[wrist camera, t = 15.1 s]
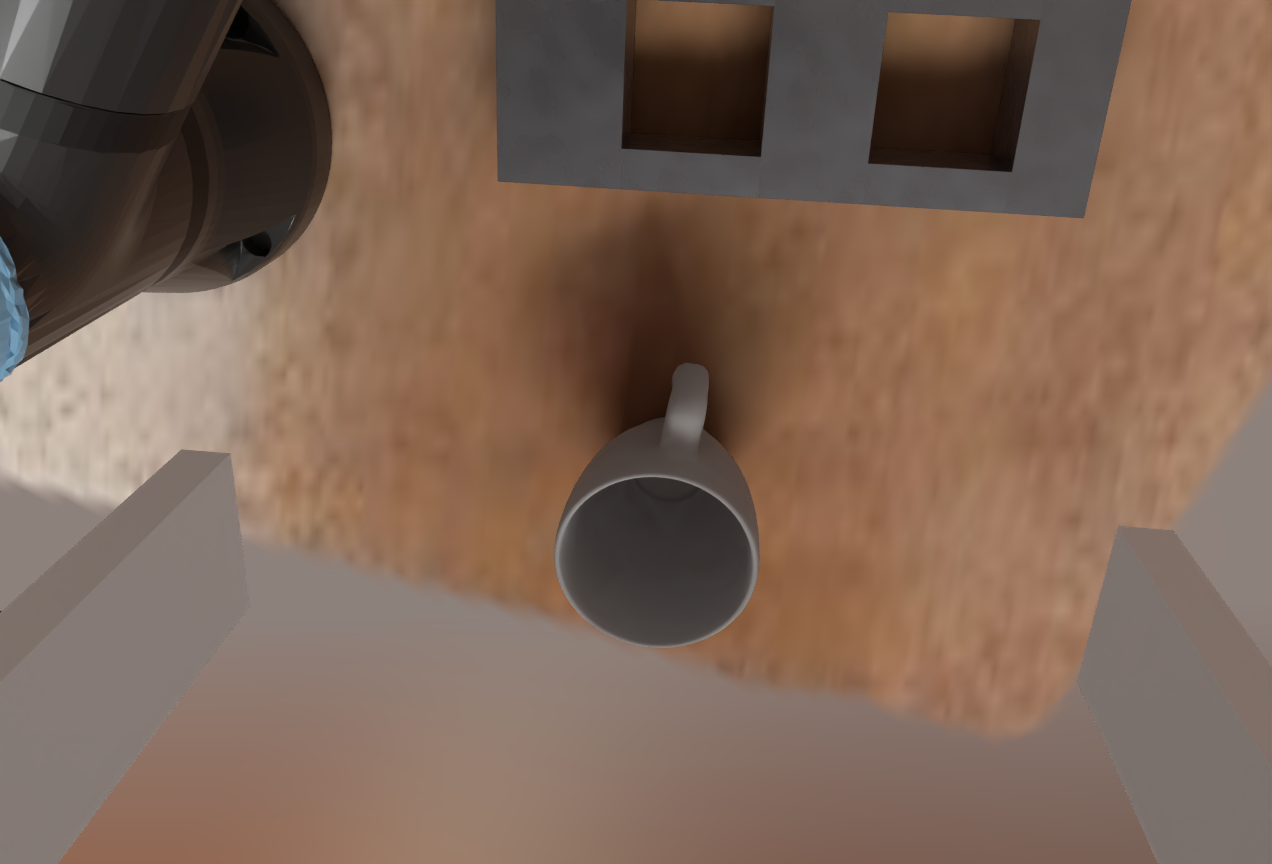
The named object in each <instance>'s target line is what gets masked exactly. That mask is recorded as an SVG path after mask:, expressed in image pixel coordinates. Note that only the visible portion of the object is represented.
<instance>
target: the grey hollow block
mask: <svg viewBox="0 0 1272 864" xmlns="http://www.w3.org/2000/svg"><path fill="white" fill-rule="evenodd" d="M660 1H680V2H699V3H719V4H739V5H759V6H772V10H771V22H770V33H769V44H768V55H767V67H766V78H765V89H764V100H763V111H762V123H761V134H760V140H743V139H726V138H709V137H692V136H675V135H658V134H641V133H631V119H632V94H633V68H634V43H635V17H636V0H496V73H497V158H498V181H499V182H515V183H531V184H547V185H563V186H579V187H594V188H610V189H626V190H642V191H658V192H674V193H690V194H706V195H722V196H738V197H754V198H770V199H786V200H802V201H818V202H833V203H849V204H865V205H881V206H897V207H913V208H929V209H945V210H961V211H977V212H993V213H1009V214H1025V215H1041V216H1057V217H1072V218H1084V215H1085V210H1086V205H1087V201H1088V196H1089V192H1090V187H1091V183H1092V178H1093V174H1094V169H1095V164H1096V160H1097V155H1098V151H1099V146H1100V142H1101V137H1102V133H1103V128H1104V123H1105V119H1106V114H1107V110H1108V105H1109V101H1110V96H1111V92H1112V87H1113V83H1114V78H1115V73H1116V69H1117V64H1118V60H1119V55H1120V51H1121V46H1122V42H1123V37H1124V32H1125V28H1126V23H1127V19H1128V14H1129V10H1130V5H1131V1H1132V0H660ZM888 12H897V13H917V14H936V15H956V16H976V17H996V18H1015V25H1014V30H1013V36H1012V41H1011V47H1010V53H1009V58H1008V64H1007V69H1006V75H1005V81H1004V86H1003V92H1002V97H1001V103H1000V109H999V114H998V120H997V125H996V131H995V137H994V142H993V148H992V153H991V154H980V153H963V152H946V151H929V150H912V149H895V148H878V147H870V144H871V137H872V129H873V121H874V114H875V106H876V99H877V91H878V83H879V76H880V68H881V61H882V53H883V45H884V38H885V30H886V23H887V15H888Z"/></svg>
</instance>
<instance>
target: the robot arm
mask: <svg viewBox="0 0 1272 864" xmlns="http://www.w3.org/2000/svg"><path fill="white" fill-rule="evenodd" d="M331 146H332V141H331V125H330V117H329V111H328V106H327V102H326V98H325V94H324V90H323V87H322V84H321V81H320V78H319V75H318V73H317V70H316V68H315V65H314V63H313V61H312V59H311V57H310V55H309V53H308V51H307V49H306V47H305V46H304V44H303V42H302V40H301V39H300V37H299V36H298V34H297V33H296V31H295V29H294V28H293V27H292V25H291V24H290V23H289V21H288V20H287V18H286V17H285V16H284V15H283V14H282V12H281V11H280V10H279V9H278V8H277V6H276V5H275V4H274V3H273V2H272V1H271V0H0V382H1V381H3V378H5V377H7V376H9V375H11V373H12V372H13V370H14V368H16V367H17V366H19V365H21V364H22V363H24V362H26V361H27V360H29V359H31V358H32V357H34V356H36V355H38V354H39V353H41V352H43V351H44V350H46V349H48V348H49V347H51V346H53V345H54V344H56V343H58V342H59V341H61V340H63V339H64V338H66V337H68V336H69V335H71V334H73V333H74V332H76V331H78V330H79V329H81V328H83V327H84V326H86V325H88V324H90V323H91V322H93V321H95V320H96V319H98V318H100V317H101V316H103V315H105V314H106V313H108V312H110V311H111V310H113V309H115V308H116V307H118V306H120V305H121V304H123V303H125V302H126V301H128V300H130V299H131V298H133V297H135V296H136V295H138V294H140V293H141V292H154V293H190V292H200V291H206V290H211V289H216V288H219V287H223V286H226V285H229V284H232V283H235V282H237V281H240V280H242V279H244V278H246V277H248V276H250V275H252V274H253V273H255V272H257V271H258V270H260V269H261V268H263V267H264V266H266V265H267V264H269V263H270V262H272V261H273V260H275V259H276V258H277V257H279V256H280V255H282V254H283V253H284V252H285V251H286V250H288V249H289V248H290V247H291V246H292V245H293V244H294V243H295V242H296V241H297V240H298V239H299V237H300V236H301V235H302V234H303V232H304V231H305V230H306V228H307V227H308V225H309V224H310V222H311V221H312V219H313V217H314V215H315V213H316V211H317V209H318V207H319V205H320V203H321V200H322V197H323V194H324V191H325V188H326V184H327V180H328V175H329V170H330V162H331ZM249 607H250V601H249V593H248V585H247V578H246V570H245V562H244V554H243V546H242V539H241V531H240V523H239V516H238V508H237V500H236V492H235V485H234V477H233V469H232V462H231V454H230V453H217V452H205V451H193V450H181V451H180V452H178V453H177V454H176V455H175V456H174V457H173V458H172V459H171V460H170V461H168V462H167V463H166V464H165V465H164V466H163V467H162V468H161V469H159V470H158V471H157V472H156V473H155V474H154V475H153V476H152V477H151V478H149V479H148V480H147V481H146V482H145V483H144V484H143V485H142V486H141V487H139V488H138V489H137V490H136V491H135V492H134V493H133V494H132V495H131V496H129V497H128V498H127V499H126V500H125V501H124V502H123V503H122V504H121V505H119V506H118V507H117V508H116V509H115V510H114V511H113V512H112V513H111V514H109V515H108V516H107V517H106V518H105V519H104V520H103V521H102V522H101V523H99V524H98V525H97V526H96V527H95V528H94V529H93V530H92V531H91V532H89V533H88V534H87V535H86V536H85V537H84V538H83V539H82V540H81V541H79V542H78V543H77V544H76V545H75V546H74V547H73V548H72V549H71V550H70V551H68V552H67V553H66V554H65V555H64V556H63V557H62V558H61V559H59V560H58V561H57V562H56V563H55V564H54V565H53V566H52V567H51V568H49V570H47V571H46V572H45V573H44V574H43V575H42V576H40V577H39V578H38V579H37V580H36V581H35V582H34V583H33V584H32V585H30V586H29V587H28V588H27V589H26V590H25V591H24V592H23V593H22V594H20V595H19V596H18V597H17V598H16V599H15V600H14V601H13V602H12V603H11V604H9V605H8V606H7V607H6V608H5V609H4V610H3V611H0V864H58V863H59V861H60V860H61V859H62V857H63V856H64V854H65V853H66V852H67V851H68V849H69V848H70V846H71V845H72V844H73V843H74V841H75V840H76V839H77V837H78V836H79V835H80V833H81V832H82V830H83V829H84V828H85V827H86V825H87V824H88V823H89V821H90V820H91V819H92V817H93V816H94V815H95V813H96V812H97V811H98V809H99V808H100V806H101V805H102V804H103V803H104V801H105V800H106V798H107V797H108V796H109V794H110V793H111V792H112V790H113V789H114V788H115V786H116V785H117V784H118V782H119V781H120V780H121V778H122V777H123V776H124V774H125V773H126V772H127V770H128V769H129V768H130V766H131V765H132V764H133V762H134V761H135V760H136V758H137V757H138V756H139V754H140V753H141V752H142V750H143V749H144V747H145V746H146V745H147V744H148V742H149V741H150V740H151V738H152V737H153V736H154V734H155V733H156V731H157V730H158V729H159V727H160V726H161V725H162V724H163V722H164V721H165V719H166V718H167V717H168V716H169V714H170V713H171V712H172V710H173V709H174V707H175V706H176V705H177V703H178V702H179V701H180V699H181V698H182V697H183V695H184V694H185V693H186V691H187V690H188V689H189V687H190V686H191V685H192V683H193V682H194V681H195V679H196V678H197V677H198V675H199V674H200V673H201V671H202V670H203V669H204V667H205V666H206V665H207V663H208V662H209V661H210V659H211V658H212V656H213V655H214V654H215V653H216V651H217V650H218V648H219V647H220V646H221V645H222V643H223V642H224V641H225V639H226V638H227V637H228V635H229V634H230V632H231V631H232V630H233V629H234V627H235V626H236V625H237V623H238V622H239V620H240V619H241V618H242V616H243V615H244V614H245V612H246V611H247V610H248V608H249ZM1077 683H1078V685H1079V687H1080V690H1081V692H1082V694H1083V696H1084V699H1085V701H1086V703H1087V705H1088V708H1089V710H1090V712H1091V714H1092V717H1093V719H1094V721H1095V723H1096V726H1097V728H1098V730H1099V732H1100V734H1101V737H1102V739H1103V741H1104V744H1105V746H1106V748H1107V750H1108V753H1109V755H1110V757H1111V759H1112V762H1113V764H1114V766H1115V768H1116V771H1117V773H1118V775H1119V777H1120V779H1121V782H1122V784H1123V786H1124V789H1125V791H1126V793H1127V795H1128V798H1129V800H1130V802H1131V804H1132V806H1133V809H1134V811H1135V813H1136V815H1137V818H1138V820H1139V822H1140V824H1141V827H1142V829H1143V831H1144V833H1145V835H1146V838H1147V840H1148V842H1149V845H1150V847H1151V849H1152V851H1153V854H1154V856H1155V858H1156V860H1157V863H1158V864H1272V666H1271V665H1270V664H1269V662H1268V661H1267V659H1266V658H1265V657H1264V655H1263V654H1262V653H1261V651H1260V650H1259V648H1258V647H1257V646H1256V644H1255V643H1254V641H1253V640H1252V639H1251V637H1250V636H1249V635H1248V633H1247V632H1246V630H1245V629H1244V628H1243V626H1242V625H1241V623H1240V622H1239V621H1238V619H1237V618H1236V617H1235V615H1234V614H1233V612H1232V611H1231V610H1230V608H1229V607H1228V605H1227V604H1226V603H1225V601H1224V600H1223V599H1222V597H1221V596H1220V594H1219V593H1218V592H1217V590H1216V589H1215V588H1214V586H1213V585H1212V583H1211V582H1210V581H1209V579H1208V578H1207V577H1206V575H1205V574H1204V572H1203V571H1202V570H1201V568H1200V567H1199V565H1198V564H1197V563H1196V561H1195V560H1194V558H1193V557H1192V556H1191V554H1190V553H1189V552H1188V550H1187V549H1186V547H1185V546H1184V545H1183V543H1182V542H1181V540H1180V539H1179V538H1178V536H1177V535H1176V534H1175V532H1174V531H1173V530H1161V529H1149V528H1137V527H1125V526H1118V529H1117V533H1116V536H1115V540H1114V544H1113V548H1112V551H1111V555H1110V559H1109V563H1108V567H1107V570H1106V574H1105V578H1104V582H1103V585H1102V589H1101V593H1100V597H1099V600H1098V604H1097V608H1096V612H1095V615H1094V619H1093V623H1092V627H1091V631H1090V634H1089V638H1088V642H1087V646H1086V649H1085V653H1084V657H1083V661H1082V664H1081V668H1080V672H1079V676H1078V679H1077Z"/></svg>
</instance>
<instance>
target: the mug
mask: <svg viewBox="0 0 1272 864" xmlns="http://www.w3.org/2000/svg"><path fill="white" fill-rule="evenodd" d="M708 389H709V374H708V370H707V369H706V368H705V367H704V366H702V365H698V364H694V363H684V364H681V365H679V366H678V367H677V369H676V370H675V372H674V373H673V376H672V392H671V395H670V399H669V403H668V407H667V411H666V416H665V417H662V418H656V419H652V420H649V421H647V422H644V423H642V424H641V425H638V426H635V427H633V428H631V429H629V430H627V431H625V432H623V433H621V434H620V435H618V436H617V437H615V438H614V439H613V440H611V441H610V442H609V443H608V444H607V445H605V446H604V447H603V448H602V449H601V450H600V451H599V452H598V453H597V454H596V456H595V457H594V458H593V459H592V460H591V462H590V463H589V464H588V465H587V467H586V468H585V470H584V471H583V473H582V474H581V476H580V478H579V479H578V481H577V483H576V484H575V486H574V488H573V490H572V493H571V495H570V497H569V499H568V501H567V503H566V506H565V509H564V511H563V514H562V517H561V520H560V523H559V526H558V530H557V534H556V541H555V550H554V561H555V569H556V573H557V577H558V580H559V583H560V586H561V588H562V590H563V592H564V594H565V596H566V597H567V599H568V601H569V602H570V603H571V605H572V606H573V607H574V608H575V610H576V611H577V612H578V613H579V614H580V615H581V616H582V617H583V618H584V619H585V620H586V621H588V622H589V623H590V624H591V625H593V626H594V627H595V628H597V629H599V630H600V631H602V632H603V633H605V634H607V635H609V636H611V637H613V638H615V639H618V640H620V641H623V642H626V643H629V644H633V645H638V646H644V647H653V648H669V647H678V646H684V645H688V644H692V643H695V642H698V641H701V640H704V639H706V638H708V637H710V636H712V635H714V634H716V633H717V632H719V631H721V630H722V629H723V628H725V627H726V626H728V625H729V624H730V623H731V622H732V621H733V620H734V619H735V618H736V617H737V616H738V615H739V614H740V613H741V612H742V610H743V609H744V608H745V606H746V604H747V603H748V601H749V599H750V597H751V595H752V593H753V591H754V588H755V585H756V580H757V576H758V570H759V560H760V556H759V534H758V526H757V519H756V513H755V508H754V504H753V500H752V497H751V494H750V491H749V488H748V485H747V483H746V480H745V478H744V476H743V474H742V472H741V470H740V468H739V466H738V465H737V463H736V462H735V460H734V459H733V457H732V456H731V455H730V453H729V452H728V451H727V450H726V449H725V448H724V447H723V446H722V445H721V443H719V442H718V441H717V440H716V439H715V438H714V437H712V436H711V435H710V434H709V433H708V432H707V431H705V430H704V429H703V426H704V422H705V417H706V411H707V396H708Z"/></svg>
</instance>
